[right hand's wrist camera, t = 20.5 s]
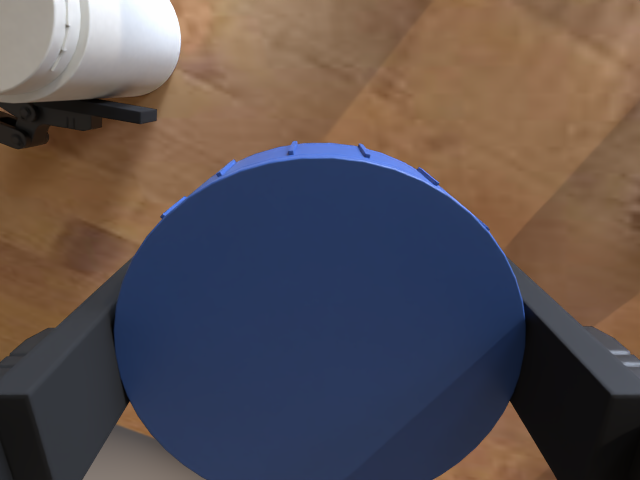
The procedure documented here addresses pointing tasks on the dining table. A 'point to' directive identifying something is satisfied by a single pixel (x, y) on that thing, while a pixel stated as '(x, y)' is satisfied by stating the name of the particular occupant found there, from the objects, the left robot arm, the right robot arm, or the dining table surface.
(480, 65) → the dining table surface
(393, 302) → the lid
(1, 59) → the jar
